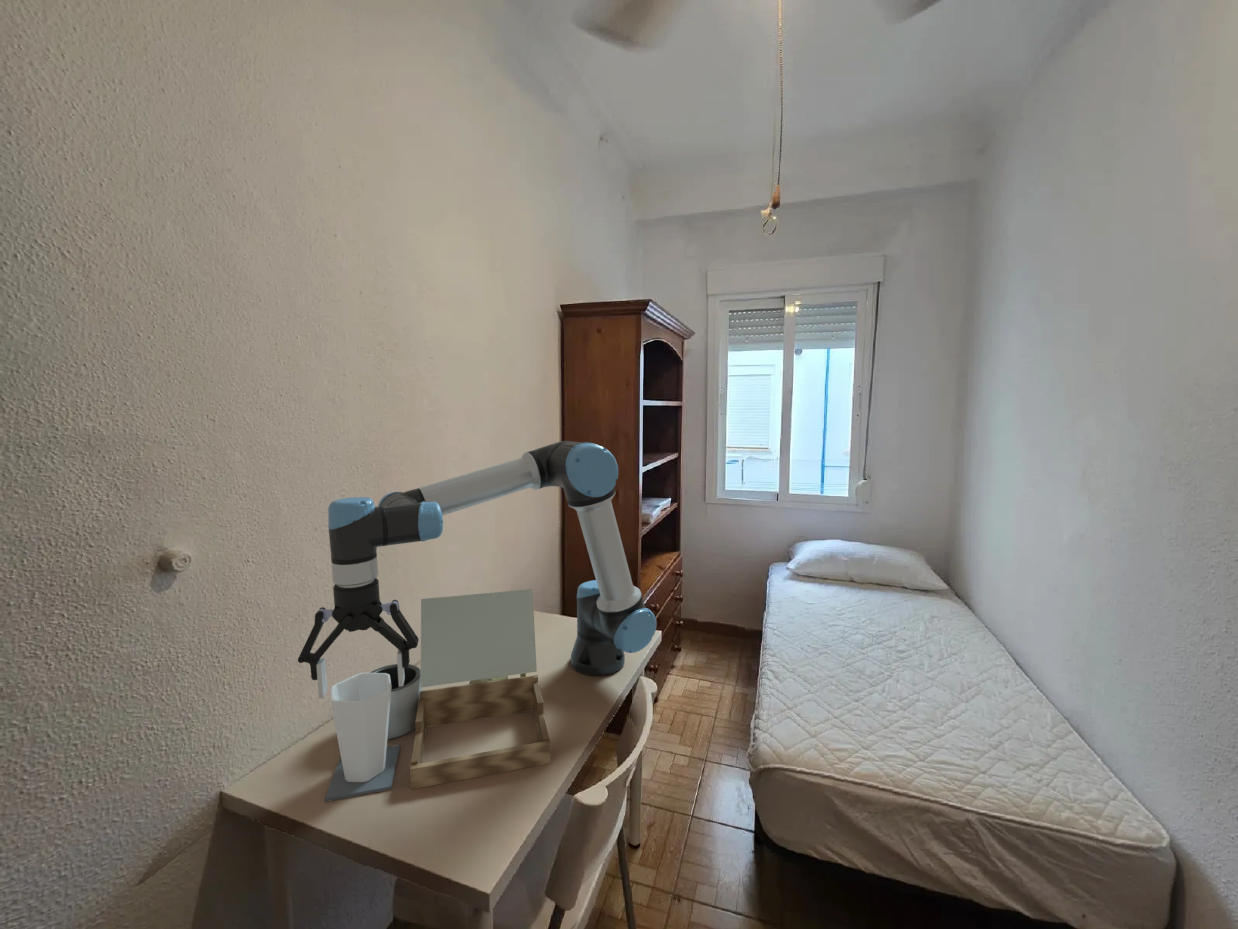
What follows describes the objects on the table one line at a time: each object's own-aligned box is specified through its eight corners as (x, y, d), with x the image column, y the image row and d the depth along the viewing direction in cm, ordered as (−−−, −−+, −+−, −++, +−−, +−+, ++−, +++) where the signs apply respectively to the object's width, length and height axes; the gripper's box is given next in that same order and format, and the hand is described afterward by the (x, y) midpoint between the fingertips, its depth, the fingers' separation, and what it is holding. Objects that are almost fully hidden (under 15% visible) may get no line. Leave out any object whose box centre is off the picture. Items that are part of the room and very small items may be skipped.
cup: (352, 799, 90) (347, 709, 88) (321, 777, 95) (316, 692, 94) (407, 762, 99) (404, 681, 98) (376, 744, 105) (373, 666, 103)
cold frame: (535, 696, 124) (534, 634, 122) (550, 763, 101) (550, 687, 99) (422, 713, 117) (420, 647, 115) (410, 789, 93) (407, 708, 92)
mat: (399, 747, 105) (399, 745, 105) (391, 789, 93) (391, 786, 93) (341, 757, 102) (341, 754, 102) (324, 801, 90) (324, 798, 90)
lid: (536, 671, 118) (536, 671, 119) (532, 589, 123) (532, 589, 125) (420, 687, 111) (421, 686, 112) (421, 599, 116) (421, 599, 117)
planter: (434, 720, 114) (433, 673, 113) (382, 750, 104) (380, 699, 103) (402, 702, 121) (400, 657, 120) (350, 728, 111) (348, 680, 110)
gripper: (429, 568, 100) (434, 668, 103) (286, 581, 94) (295, 688, 96) (425, 580, 93) (431, 688, 96) (271, 595, 86) (281, 711, 89)
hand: (363, 688), depth 96 cm, fingers open, 13 cm apart
